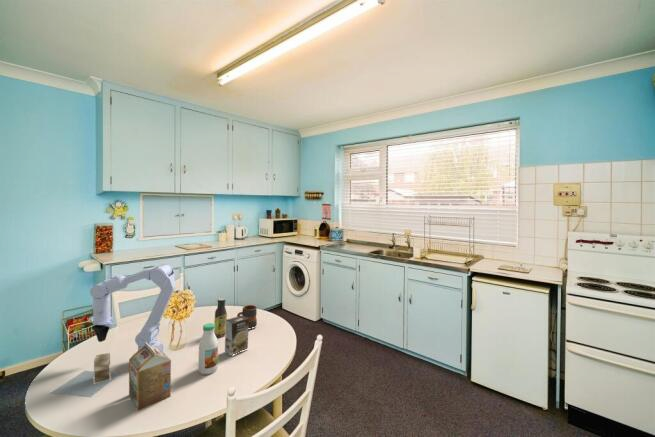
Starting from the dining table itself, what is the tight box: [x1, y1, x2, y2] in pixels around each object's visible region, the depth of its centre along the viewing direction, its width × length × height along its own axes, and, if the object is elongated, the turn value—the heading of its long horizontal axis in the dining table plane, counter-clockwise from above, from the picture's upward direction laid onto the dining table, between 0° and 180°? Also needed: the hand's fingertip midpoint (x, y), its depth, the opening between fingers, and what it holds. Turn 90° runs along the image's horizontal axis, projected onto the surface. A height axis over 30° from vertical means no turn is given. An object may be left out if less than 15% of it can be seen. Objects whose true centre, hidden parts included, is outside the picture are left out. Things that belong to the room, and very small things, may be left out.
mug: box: [236, 304, 258, 328], centre depth 169 cm, size 9×12×12 cm
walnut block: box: [95, 368, 110, 383], centre depth 117 cm, size 4×4×4 cm
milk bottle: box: [198, 322, 219, 375], centre depth 126 cm, size 8×8×20 cm
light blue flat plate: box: [50, 370, 121, 398], centre depth 114 cm, size 16×15×1 cm
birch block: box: [93, 352, 111, 372], centre depth 117 cm, size 4×4×4 cm
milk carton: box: [128, 342, 172, 411], centre depth 108 cm, size 10×11×19 cm
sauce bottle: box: [213, 297, 228, 338], centre depth 158 cm, size 7×6×20 cm
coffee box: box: [224, 315, 249, 355], centre depth 143 cm, size 9×6×16 cm
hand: (101, 340), depth 127 cm, fingers closed
